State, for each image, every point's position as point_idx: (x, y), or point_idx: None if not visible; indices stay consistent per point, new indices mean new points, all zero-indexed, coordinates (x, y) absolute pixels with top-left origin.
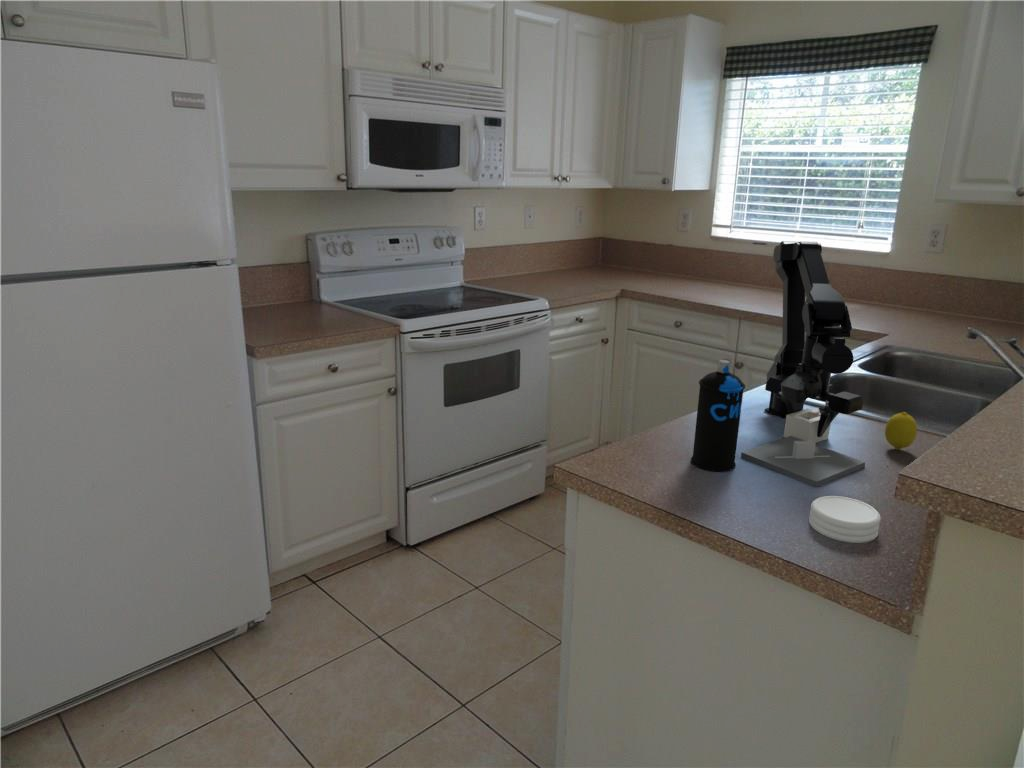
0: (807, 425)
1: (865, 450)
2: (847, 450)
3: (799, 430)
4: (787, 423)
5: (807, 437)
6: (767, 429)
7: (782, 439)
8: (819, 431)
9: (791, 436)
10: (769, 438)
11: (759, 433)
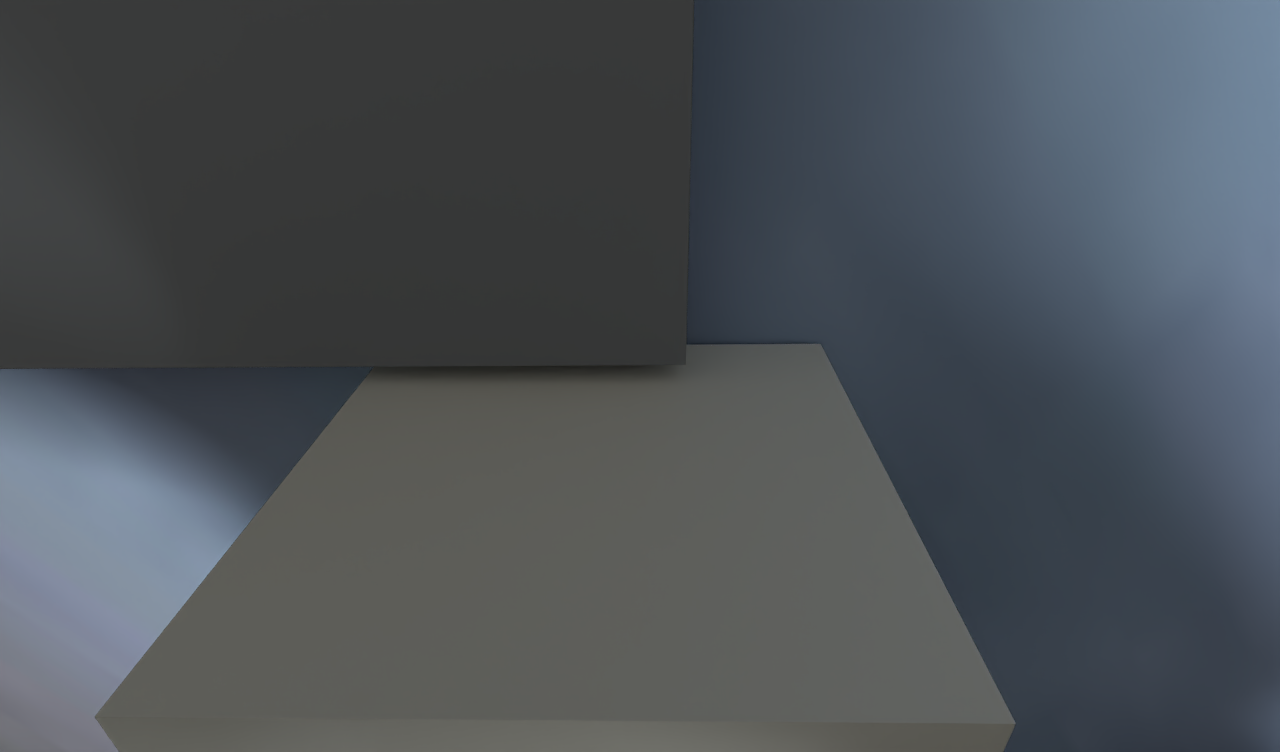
0: (264, 615)
1: (72, 716)
2: (106, 604)
3: (516, 472)
4: (853, 521)
5: (349, 422)
6: (1164, 429)
7: (655, 30)
8: None
9: (660, 351)
10: (979, 96)
11: (1237, 161)
